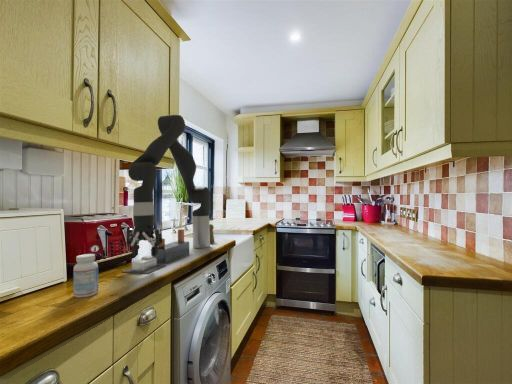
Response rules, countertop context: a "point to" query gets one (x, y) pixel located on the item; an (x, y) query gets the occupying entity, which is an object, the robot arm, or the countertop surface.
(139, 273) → the rubber mat
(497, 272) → the countertop surface
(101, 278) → the countertop surface
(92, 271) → the pill bottle
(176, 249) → the bench plane
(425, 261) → the countertop surface
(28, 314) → the countertop surface
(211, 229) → the cork
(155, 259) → the lever cap
